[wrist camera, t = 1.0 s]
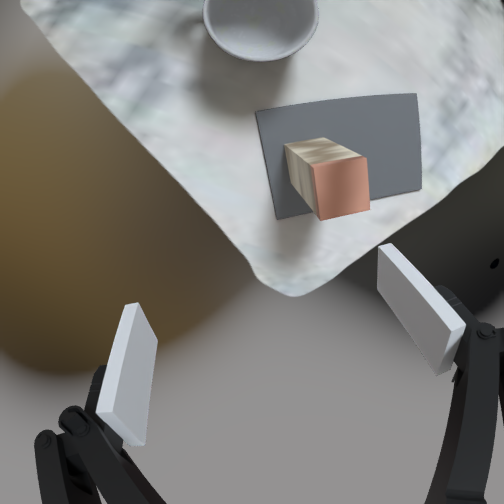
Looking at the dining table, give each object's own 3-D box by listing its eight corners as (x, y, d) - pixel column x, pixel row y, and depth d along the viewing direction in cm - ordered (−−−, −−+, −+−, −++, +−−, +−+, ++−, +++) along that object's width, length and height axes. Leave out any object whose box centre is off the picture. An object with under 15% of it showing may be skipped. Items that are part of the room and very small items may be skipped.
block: (323, 137, 36) (366, 158, 25) (328, 175, 38) (370, 209, 28) (283, 144, 36) (313, 167, 25) (290, 183, 38) (320, 221, 28)
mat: (415, 93, 34) (416, 93, 34) (420, 188, 41) (421, 189, 41) (255, 111, 34) (255, 111, 34) (276, 218, 41) (277, 219, 41)
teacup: (317, 30, 30) (342, 18, 23) (251, 85, 33) (260, 83, 26) (234, -43, 24) (240, -71, 17) (166, 11, 27) (153, -8, 20)
